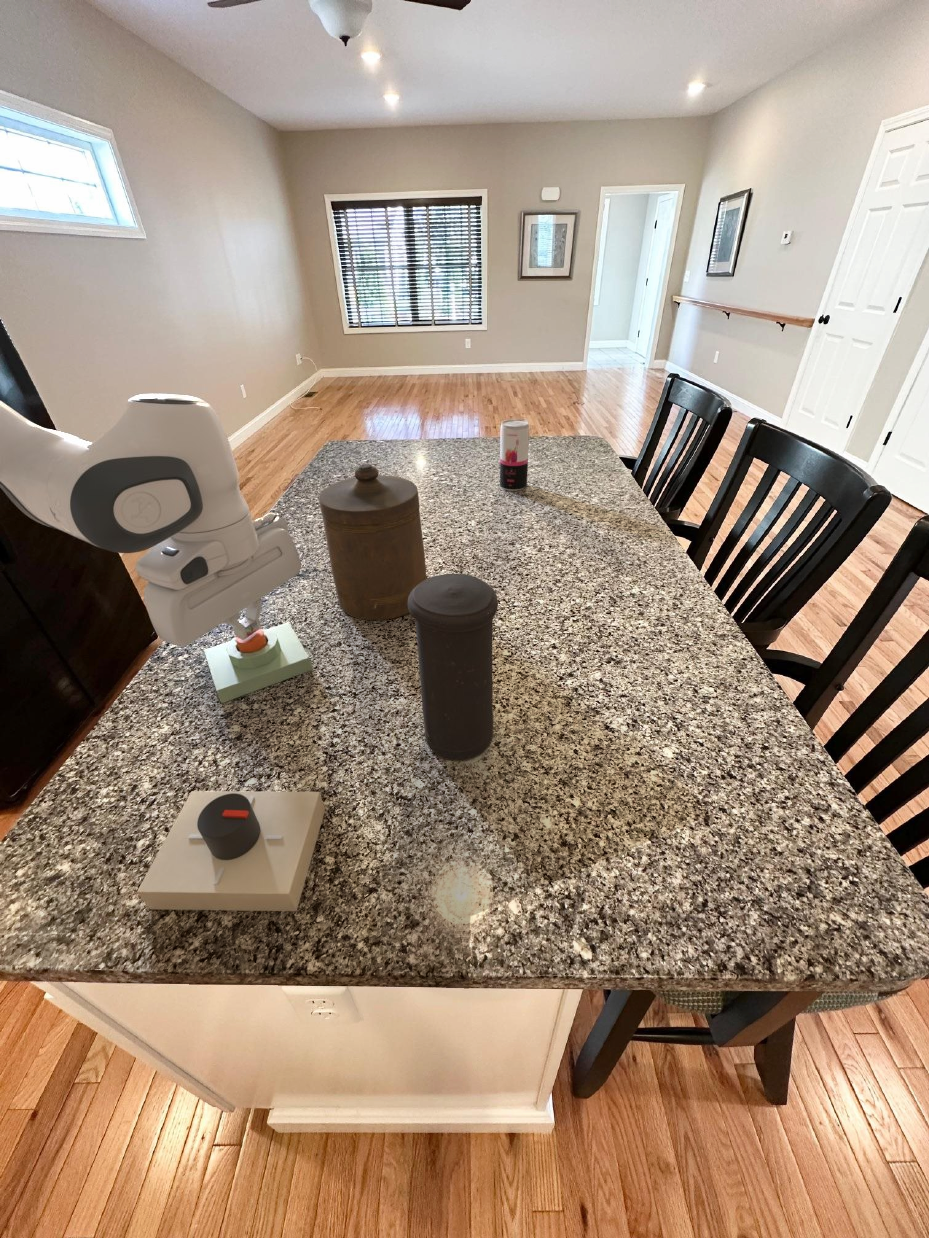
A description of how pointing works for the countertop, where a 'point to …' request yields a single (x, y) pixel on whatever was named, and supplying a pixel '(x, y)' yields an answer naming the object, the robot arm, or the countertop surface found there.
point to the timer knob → (229, 826)
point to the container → (455, 662)
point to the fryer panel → (244, 882)
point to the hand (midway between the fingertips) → (249, 633)
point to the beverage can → (514, 454)
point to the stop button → (252, 642)
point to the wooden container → (374, 542)
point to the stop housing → (257, 663)
